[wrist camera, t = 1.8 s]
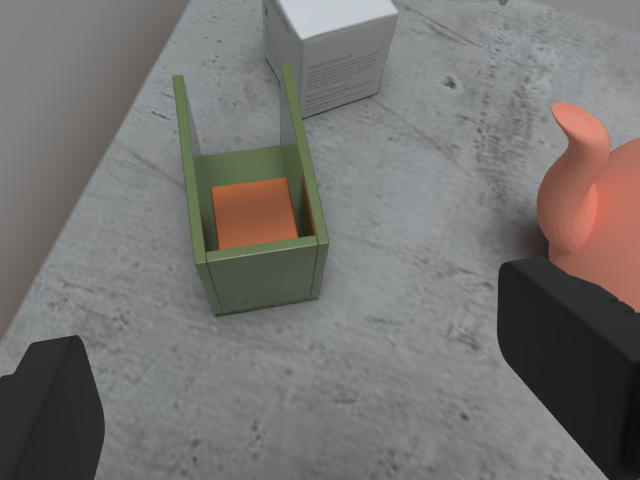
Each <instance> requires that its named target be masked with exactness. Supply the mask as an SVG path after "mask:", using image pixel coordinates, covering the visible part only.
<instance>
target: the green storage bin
mask: <svg viewBox="0 0 640 480" xmlns="http://www.w3.org/2000/svg"><path fill="white" fill-rule="evenodd" d="M173 84H174V92H175V101H176V109H177V118H178V126H179V135H180V143H181V152H182V160H183V169H184V177H185V186H186V194H187V203H188V211H189V220H190V228H191V237H192V245H193V254H194V262H195V266H196V268H197V271H198V274H199V276H200V279H201V282H202V284H203V287H204V289H205V292H206V295H207V297H208V300H209V303H210V305H211V308H212V310H213V313H214V316H215V317H216V316H222V315H228V314H234V313H240V312H246V311H252V310H258V309H263V308H269V307H275V306H281V305H287V304H293V303H299V302H305V301H311V300H317V299H318V297H319V292H320V287H321V282H322V277H323V272H324V267H325V262H326V257H327V252H328V247H329V243H330V242H329V238H328V233H327V229H326V224H325V220H324V215H323V211H322V206H321V202H320V197H319V193H318V188H317V184H316V179H315V174H314V170H313V165H312V161H311V156H310V152H309V147H308V143H307V138H306V134H305V129H304V125H303V120H302V116H301V111H300V107H299V102H298V97H297V93H296V88H295V84H294V79H293V75H292V70H291V66H290V63H284V64H280V146H275V147H267V148H260V149H252V150H244V151H237V152H229V153H221V154H214V155H206V156H202V154H201V150H200V146H199V142H198V137H197V133H196V129H195V125H194V120H193V116H192V112H191V108H190V103H189V99H188V95H187V90H186V86H185V82H184V78H183V75H175V76H173ZM283 177H286V178H287V181H288V186H289V191H290V196H291V201H292V206H293V211H294V216H295V221H296V226H297V231H298V236H299V238H294V239H288V240H281V241H275V242H268V243H262V244H255V245H249V246H242V247H236V248H229V249H223V250H219V249H218V242H217V234H216V227H215V220H214V213H213V205H212V198H211V191H210V189H211V187H218V186H225V185H232V184H240V183H247V182H254V181H261V180H269V179H276V178H283Z"/></svg>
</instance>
